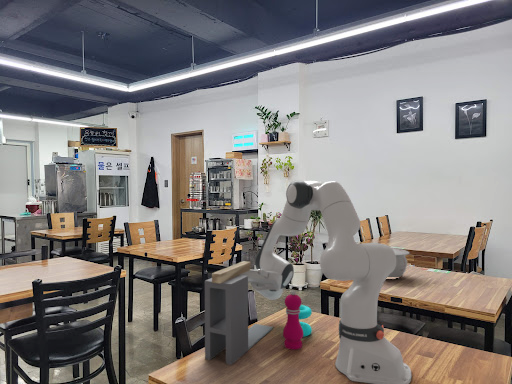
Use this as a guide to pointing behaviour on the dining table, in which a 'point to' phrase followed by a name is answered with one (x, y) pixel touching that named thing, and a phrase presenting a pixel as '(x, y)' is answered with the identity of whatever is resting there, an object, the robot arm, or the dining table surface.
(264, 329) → the mat
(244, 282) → the stand
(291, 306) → the pepper mill
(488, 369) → the dining table surface
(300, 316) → the donuts
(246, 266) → the bar
